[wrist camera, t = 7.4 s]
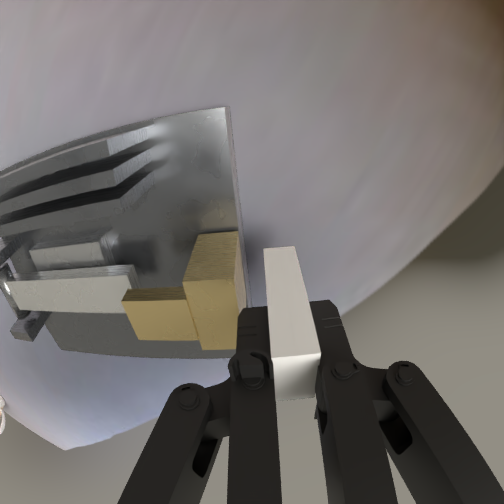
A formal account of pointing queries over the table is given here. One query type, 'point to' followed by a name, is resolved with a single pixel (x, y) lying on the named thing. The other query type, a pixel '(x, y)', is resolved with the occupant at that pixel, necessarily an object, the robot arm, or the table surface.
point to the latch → (195, 298)
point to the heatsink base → (122, 219)
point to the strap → (68, 289)
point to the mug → (0, 403)
